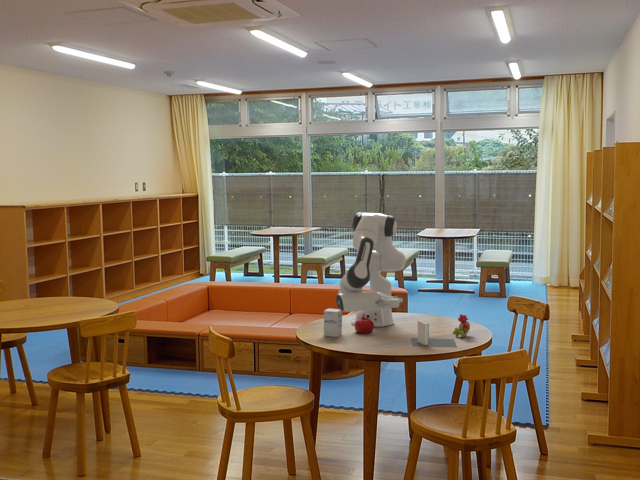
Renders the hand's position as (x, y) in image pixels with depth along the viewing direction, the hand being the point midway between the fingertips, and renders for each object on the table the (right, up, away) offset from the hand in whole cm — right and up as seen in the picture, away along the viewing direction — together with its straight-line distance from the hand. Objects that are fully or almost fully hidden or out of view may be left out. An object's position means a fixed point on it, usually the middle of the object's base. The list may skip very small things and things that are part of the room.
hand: (399, 299), depth 300 cm
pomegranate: (-14, -20, +30) cm, 39 cm away
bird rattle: (+33, -20, +23) cm, 45 cm away
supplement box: (-30, -20, +24) cm, 43 cm away
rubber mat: (+17, -22, +7) cm, 28 cm away
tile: (+11, -21, +6) cm, 24 cm away
